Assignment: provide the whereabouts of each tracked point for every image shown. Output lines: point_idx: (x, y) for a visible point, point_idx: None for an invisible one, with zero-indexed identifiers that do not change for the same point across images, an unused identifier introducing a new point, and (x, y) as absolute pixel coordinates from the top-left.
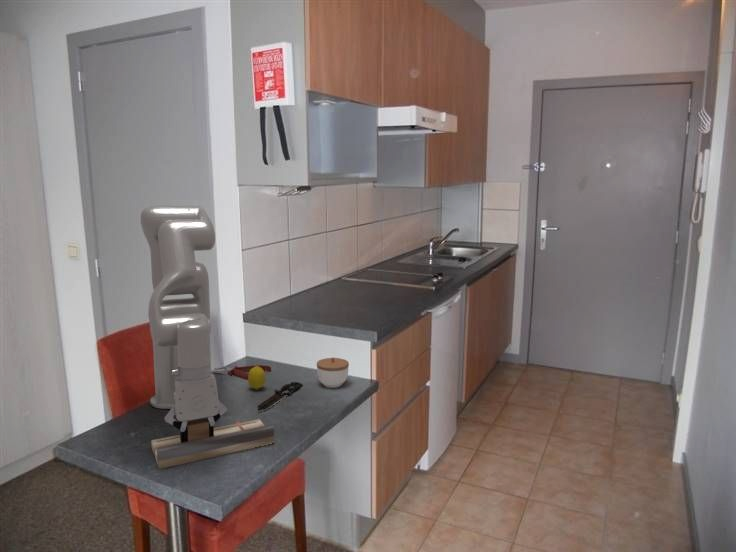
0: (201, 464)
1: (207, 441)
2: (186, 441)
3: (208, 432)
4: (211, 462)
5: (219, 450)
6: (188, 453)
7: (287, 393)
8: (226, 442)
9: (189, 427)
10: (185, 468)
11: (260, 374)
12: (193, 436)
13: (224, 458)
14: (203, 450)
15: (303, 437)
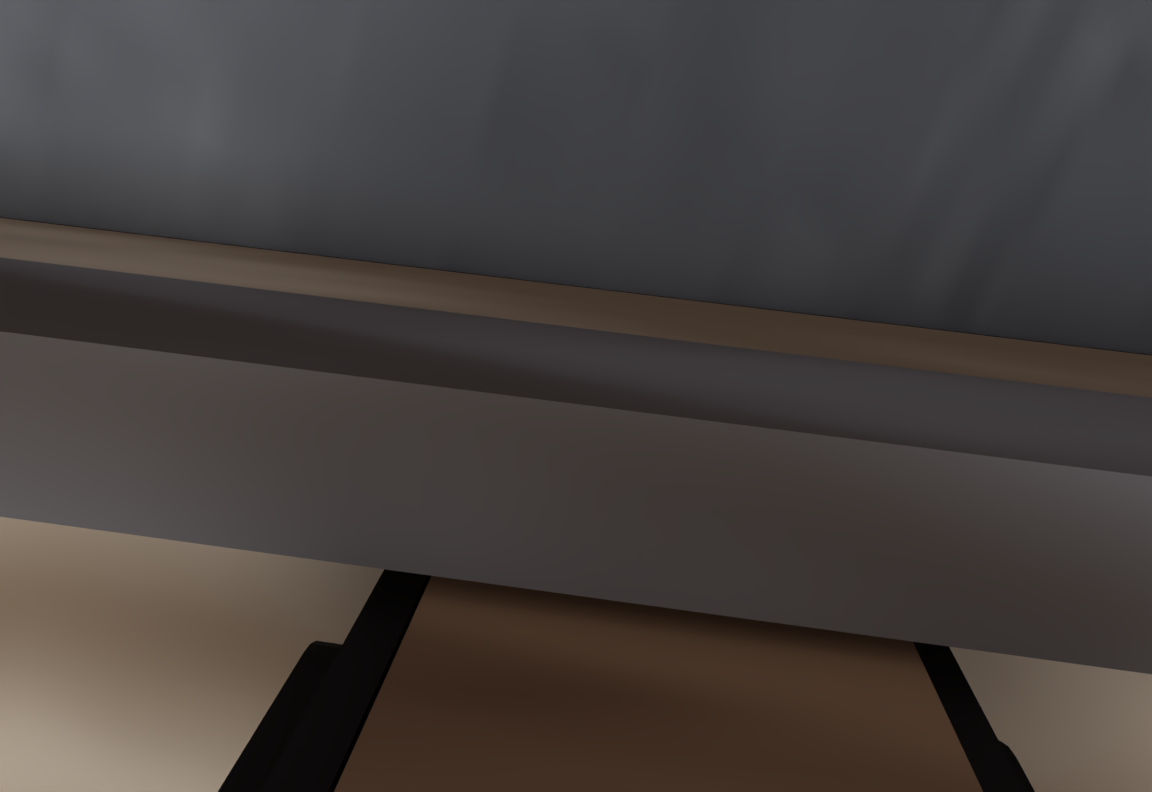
0: (753, 136)
1: (536, 399)
2: (944, 690)
3: (405, 679)
4: (576, 106)
5: (347, 285)
6: (964, 383)
7: None
8: (132, 302)
9: None
10: (1049, 153)
11: None
12: (811, 716)
13: (332, 121)
14: (650, 342)
15: None
